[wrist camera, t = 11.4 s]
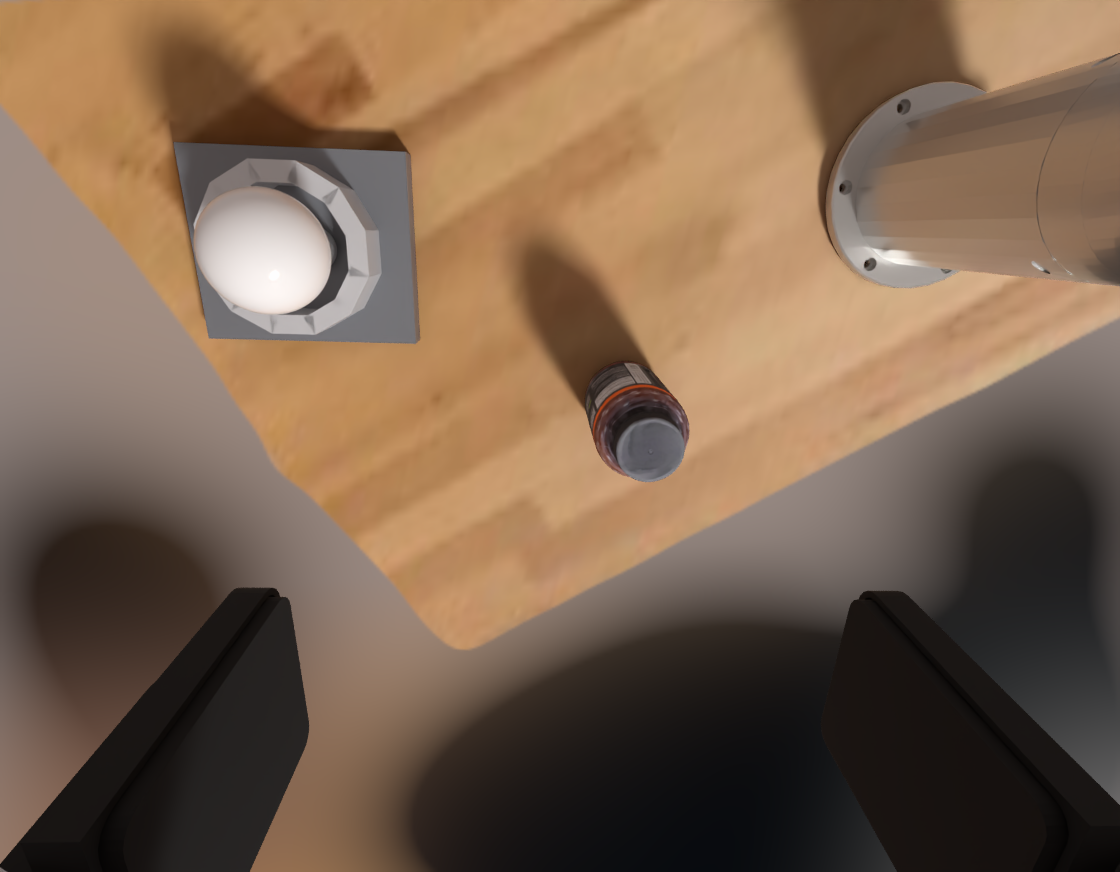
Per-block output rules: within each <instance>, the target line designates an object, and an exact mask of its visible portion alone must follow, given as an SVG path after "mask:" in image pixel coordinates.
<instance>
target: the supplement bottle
mask: <svg viewBox="0 0 1120 872" xmlns="http://www.w3.org/2000/svg"><path fill="white" fill-rule="evenodd" d="M585 409H586V414H587V417H588V421H589V425H590V428H591V432H592V435H593V439H594V442H595V446H596V449H597V451H598V453H599V455H600V457H601V458H602V460H603V461H604V462H605V463H606V464H607V465H608V466H609V467H610V468H611V469H612V470H614V471H615V472H617V473H619V474H621V475H624V476H627V477H631V478H633V479H635V480H638V481H643V482H653V481H658V480H661V479H663V478H666V477H667V476H669V475H670V474H672V473H673V472H674V471H675V470H676V469H677V468H678V467H679V465H680V463H681V461H682V459H683V456H684V452H685V448H686V446H687V443H688V439H689V423H688V419H687V416H686V414H685V411H684V410H683V408H682V406H681V405H680V404H679V402H678V401H677V399H676V398H675V397H674V396H673V395H672V394H671V393H670V392H669V390H668V389H667V388H666V387H665V386H664V385H663V383H662V382H661V381H660V380H659V378H658V377H657V376H656V375H655V374H654V373H653V372H652V371H651V370H649V369H648V368H646V367H645V366H643V365H641V364H638V363H635V362H629V361H621V362H616V363H612V364H610V365H608V366H606V367H604V368H602V369H601V370H600V371H599V372H598V373H596V374H595V376H594V377H593V378H592V379H591V381H590V383H589V385H588V387H587V390H586V395H585Z"/></svg>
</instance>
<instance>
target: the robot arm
mask: <svg viewBox="0 0 1120 872" xmlns="http://www.w3.org/2000/svg"><path fill="white" fill-rule="evenodd" d="M897 106H898V108H899V111H897ZM840 185H841V186H842V190H841V191H839V186H840ZM826 219H827V227H828V232H829V235H830V238H831V240H832V243H833V246H834V248H835V250H836V251H837V253H838V255H839V256H840V258H841V260H842V261H843V262H844V263H845V264H846V265H847V266H848V267H849V268H850V269H851V270H852V271H853V272H854V273H856V274H857V275H859V276H860V277H862V278H863V279H865V280H867V281H870V282H873V283H875V284H878V285H882V286H888V287H893V288H916V287H922V286H928V285H931V284H934V283H936V282H939V281H942V280H945V279H947V278H949V277H950V276H952V275H954V274H956V273H958V272H959V271H969V272H979V273H990V274H1000V275H1010V276H1020V277H1030V278H1040V279H1050V280H1060V281H1070V282H1080V283H1091V284H1101V285H1113V286H1120V53H1119V54H1115V55H1112V56H1109V57H1105V58H1102V59H1099V60H1096V61H1092V62H1089V63H1086V64H1082V65H1079V66H1076V67H1072V68H1069V69H1066V70H1062V71H1059V72H1056V73H1052V74H1049V75H1046V76H1042V77H1039V78H1036V79H1032V80H1029V81H1026V82H1022V83H1019V84H1016V85H1012V86H1009V87H1006V88H1002V89H999V90H996V91H993V92H989V93H987V92H986V91H984V90H981V89H979V88H977V87H974V86H972V85H970V84H965V83H959V82H953V81H948V82H933V83H929V84H925V85H922V86H918V87H915V88H912V89H909V90H907V91H904V92H902V93H900V94H897V95H895V96H894V97H892V98H890V99H889V100H887V101H886V102H884V103H882V104H881V105H879V106H878V107H877V108H876V109H874V110H873V111H872V112H871V113H870V114H869V115H868V116H866V117H865V118H864V119H863V120H862V121H861V123H860V124H859V125H858V126H857V127H856V129H855V130H854V131H853V132H852V133H851V135H850V136H849V137H848V139H847V141H846V142H845V144H844V146H843V147H842V149H841V151H840V153H839V154H838V157H837V159H836V162H835V164H834V167H833V169H832V172H831V175H830V179H829V184H828V188H827V193H826ZM865 261H866V265H865V266H864V263H865ZM821 730H822V735H823V738H824V741H825V743H826V746H827V747H828V749H829V750H830V753H831V754H832V756H833V758H834V760H835V761H836V763H837V765H838V767H839V769H840V771H841V772H842V774H843V776H844V778H845V779H846V781H847V783H848V785H849V787H850V788H851V790H852V792H853V794H854V795H855V797H856V799H857V801H858V803H859V804H860V806H861V808H862V810H863V811H864V813H865V815H866V817H867V819H868V820H869V822H870V824H871V826H872V827H873V829H874V831H875V833H876V835H877V837H878V838H879V840H880V842H881V843H882V845H883V847H884V849H885V851H886V852H887V854H888V856H889V858H890V860H891V862H892V863H893V865H894V867H895V869H896V870H897V872H1120V805H1119V804H1118V803H1117V802H1116V801H1115V800H1114V799H1113V798H1112V797H1111V796H1110V795H1109V794H1108V793H1107V792H1106V791H1105V790H1104V789H1103V788H1102V787H1101V786H1100V785H1099V784H1098V783H1097V782H1096V781H1095V780H1094V779H1093V778H1092V777H1091V776H1090V775H1089V774H1088V773H1087V772H1086V771H1085V770H1084V769H1083V768H1082V767H1081V766H1080V765H1079V764H1078V763H1076V761H1075V760H1074V759H1073V758H1071V757H1070V755H1068V753H1067V752H1065V751H1064V750H1063V749H1062V748H1061V747H1060V746H1059V745H1058V744H1057V743H1056V742H1055V741H1054V740H1053V739H1052V738H1051V737H1050V736H1049V735H1048V734H1047V733H1046V732H1045V731H1044V730H1043V729H1042V728H1041V727H1040V726H1039V725H1038V724H1037V723H1036V722H1035V721H1034V720H1033V719H1032V718H1031V717H1030V716H1029V715H1028V714H1027V713H1026V712H1025V711H1024V710H1023V709H1022V708H1021V707H1020V706H1019V705H1018V704H1017V703H1016V702H1015V701H1014V700H1013V699H1012V698H1011V697H1010V696H1009V695H1008V694H1007V693H1006V692H1004V690H1003V689H1001V687H1000V686H999V685H998V684H997V683H996V682H995V681H994V680H993V679H992V678H991V677H990V676H989V675H987V673H986V672H985V671H984V670H982V668H981V667H980V666H978V665H977V663H976V662H974V661H973V660H972V659H971V658H970V657H969V656H968V655H967V654H966V653H965V652H964V651H963V650H962V649H961V648H960V647H959V646H958V645H957V644H956V643H955V642H954V641H953V640H952V639H951V638H950V637H949V636H948V635H947V634H946V633H945V632H944V631H943V630H942V629H941V628H940V627H939V626H938V625H937V624H936V623H935V622H934V621H933V620H932V619H931V618H930V617H929V616H928V615H927V614H926V613H925V612H924V611H923V610H922V609H921V608H920V607H919V606H918V605H917V604H916V603H915V602H914V601H913V600H912V599H911V598H910V597H909V596H908V595H906V594H905V593H903V592H899V591H866V592H863V593H862V595H860V597H859V600H854V601H853V602H852V603H851V605H850V608H849V612H848V616H847V620H846V624H845V628H844V632H843V636H842V640H841V644H840V648H839V652H838V655H837V659H836V664H835V667H834V671H833V675H832V680H831V683H830V687H829V691H828V695H827V699H826V703H825V707H824V711H823V715H822V720H821ZM308 733H309V720H308V713H307V707H306V701H305V694H304V688H303V682H302V675H301V669H300V662H299V656H298V650H297V643H296V637H295V631H294V624H293V618H292V612H291V605H290V602H289V600H288V598H286V597H280V595H279V592H278V591H277V589H275V588H236V589H234V590H233V591H232V592H231V593H230V594H229V595H228V596H227V598H226V599H225V600H224V601H223V602H222V604H221V605H220V606H219V607H218V608H217V610H216V611H215V612H214V613H213V614H212V615H211V617H210V618H209V619H208V620H207V621H206V623H205V624H204V625H203V626H202V628H200V630H199V631H198V632H197V633H196V634H195V636H194V637H193V638H192V639H191V641H190V642H189V643H188V644H187V645H186V646H185V648H184V649H183V650H182V651H181V652H180V653H179V655H178V656H177V657H176V658H175V659H174V661H173V662H172V663H171V664H170V665H169V667H168V668H167V669H166V670H165V671H164V673H163V674H162V675H161V676H160V677H159V678H158V680H157V681H156V682H155V683H154V684H153V685H151V686H150V688H149V689H148V690H147V691H146V692H145V693H144V694H143V696H142V697H141V698H140V699H139V700H138V702H137V703H136V704H135V705H134V706H133V708H132V709H131V710H130V711H129V712H128V713H127V715H126V716H125V717H124V718H123V719H122V720H121V722H120V723H119V724H118V725H117V726H116V728H115V729H114V730H113V731H112V733H111V734H110V735H109V736H108V737H107V738H106V739H105V741H104V742H103V743H102V744H101V745H100V747H99V748H98V749H97V750H96V751H95V752H94V754H93V755H92V756H91V757H90V758H89V760H88V761H87V762H86V763H85V764H84V765H83V767H82V768H81V769H80V770H79V771H78V773H77V774H76V775H75V776H74V777H73V779H72V780H71V781H70V782H69V783H68V784H67V786H66V787H65V788H64V789H63V790H62V792H61V793H60V794H59V795H58V796H57V797H56V799H55V800H54V801H53V802H52V803H51V805H50V806H49V807H48V808H47V809H46V811H45V812H44V813H43V814H42V815H41V817H40V818H39V819H38V820H37V821H36V822H35V824H34V825H33V826H32V827H31V828H30V829H29V831H28V832H27V833H26V834H25V835H24V837H23V838H22V839H21V840H20V841H19V843H18V844H17V845H16V846H15V847H14V849H13V850H12V851H11V852H10V853H9V854H8V855H7V857H6V858H5V859H4V860H3V861H2V863H1V864H0V872H250V869H251V868H252V865H253V863H254V861H255V859H256V856H257V854H258V852H259V849H260V847H261V845H262V843H263V841H264V838H265V836H266V834H267V832H268V829H269V827H270V825H271V823H272V821H273V818H274V816H275V814H276V812H277V809H278V807H279V805H280V803H281V800H282V798H283V796H284V793H285V791H286V789H287V787H288V784H289V782H290V780H291V778H292V776H293V774H294V771H295V769H296V766H297V764H298V762H299V760H300V758H301V756H302V753H303V751H304V748H305V746H306V743H307V739H308Z"/></svg>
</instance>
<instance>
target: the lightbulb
mask: <svg viewBox="0 0 1120 872" xmlns="http://www.w3.org/2000/svg"><path fill="white" fill-rule="evenodd" d="M194 252H195V256H196V260H197V263H198V265H199V268H200V270H201V272H202V274H203V275H204V277H205V278H206V280H207V281H208V283H209V284H210V285H211V286H212V287H213V288H214V290H215V291H216V292H218V293H219V294H220V295H221V296H222V297H223V298H225V299H226V300H228V301H229V302H231V303H232V304H234V305H236V306H238V307H240V308H243V309H245V310H248V311H251V312H255V313H260V314H269V315H276V314H285V313H290V312H293V311H296V310H299V309H301V308H303V307H305V306H306V305H308V304H309V303H311V302H312V301H313V300H314V299H315V298H316V297H317V296H318V295H319V294H320V293H321V291H322V290H323V289H324V287H325V285H326V283H327V281H328V278H329V275H330V271H331V265H332V264H333V263H334V261H335V259H336V256H337V246H336V243H335V240H334V239H333V237H332V236H331V234H330V233H329V232H327V231H326V230H325V229H323V227H322V225H321V223H320V222H319V221H318V219H317V218H316V217H315V215H314V214H313V213H312V212H311V211H310V210H309V209H308V208H307V207H306V206H305V205H303V204H302V203H301V202H299V201H298V200H297V199H295V198H293V197H292V196H290V195H288V194H286V193H283V192H281V191H278V190H275V189H272V188H267V187H261V186H245V187H239V188H235V189H231V190H228V191H226V192H224V193H222V194H220V195H218V196H217V197H215V198H214V199H213V200H212V201H211V202H209V203H208V205H207V206H206V207H205V208H204V209H203V211H202V212H201V214H200V216H199V218H198V220H197V223H196V226H195V231H194Z"/></svg>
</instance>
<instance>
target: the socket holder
mask: <svg viewBox="0 0 1120 872" xmlns="http://www.w3.org/2000/svg"><path fill="white" fill-rule="evenodd" d="M173 143H174V149H175V154H176V160H177V165H178V171H179V176H180V182H181V187H182V193H183V198H184V204H185V209H186V215H187V220H188V226H189V231H190V237H191V242H192V248H193V253H194V259H195V264H196V270H197V275H198V281H199V287H200V292H201V298H202V303H203V309H204V314H205V320H206V325H207V331H208V336H209V338H216V339H255V340H294V341H334V342H373V343H412V344H416V343H417V342H418V341H419V340H420V329H419V310H418V290H417V271H416V252H415V233H414V214H413V195H412V176H411V156H410V154H408V153H407V152H398V151H374V150H350V149H326V148H302V147H278V146H254V145H230V144H206V143H182V142H173ZM245 186H261V187H267V188H272V189H275V190H278V191H281V192H283V193H286V194H288V195H290V196H292V197H293V198H295V199H297V200H298V201H299V202H301V203H302V204H303V205H305V206H306V207H307V208H308V209H309V210H310V211H311V212H312V213H313V214H314V215H315V217H316V218H317V219H318V221H319V222H320V223H321V225H322V227H323V229H325V230H326V231H327V232H329V233H330V234H331V236H332V237H333V239H334V240H335V243H336V246H337V256H336V259H335V261H334V263H333V264H332V265H331V271H330V275H329V278H328V281H327V283H326V285H325V287H324V289H323V290H322V291H321V293H320V294H319V295H318V296H317V297H316V298H315V299H314V300H313V301H312V302H311V303H309V304H308V305H306V306H305V307H303V308H301V309H299V310H296V311H293V312H290V313H285V314H276V315H269V314H260V313H255V312H251V311H248V310H245V309H243V308H240V307H238V306H236V305H234V304H232V303H231V302H229V301H228V300H226V299H225V298H223V297H222V296H221V295H220V294H219V293H218V292H216V291H215V290H214V288H213V287H212V286H211V285H210V284H209V283H208V281H207V280H206V278H205V277H204V275H203V274H202V272H201V270H200V268H199V265H198V263H197V260H196V256H195V252H194V231H195V226H196V223H197V220H198V218H199V216H200V214H201V212H202V211H203V209H204V208H205V207H206V206H207V205H208V203H209V202H211V201H212V200H213V199H214V198H215V197H217V196H218V195H220V194H222V193H224V192H226V191H228V190H231V189H235V188H239V187H245Z"/></svg>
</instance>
